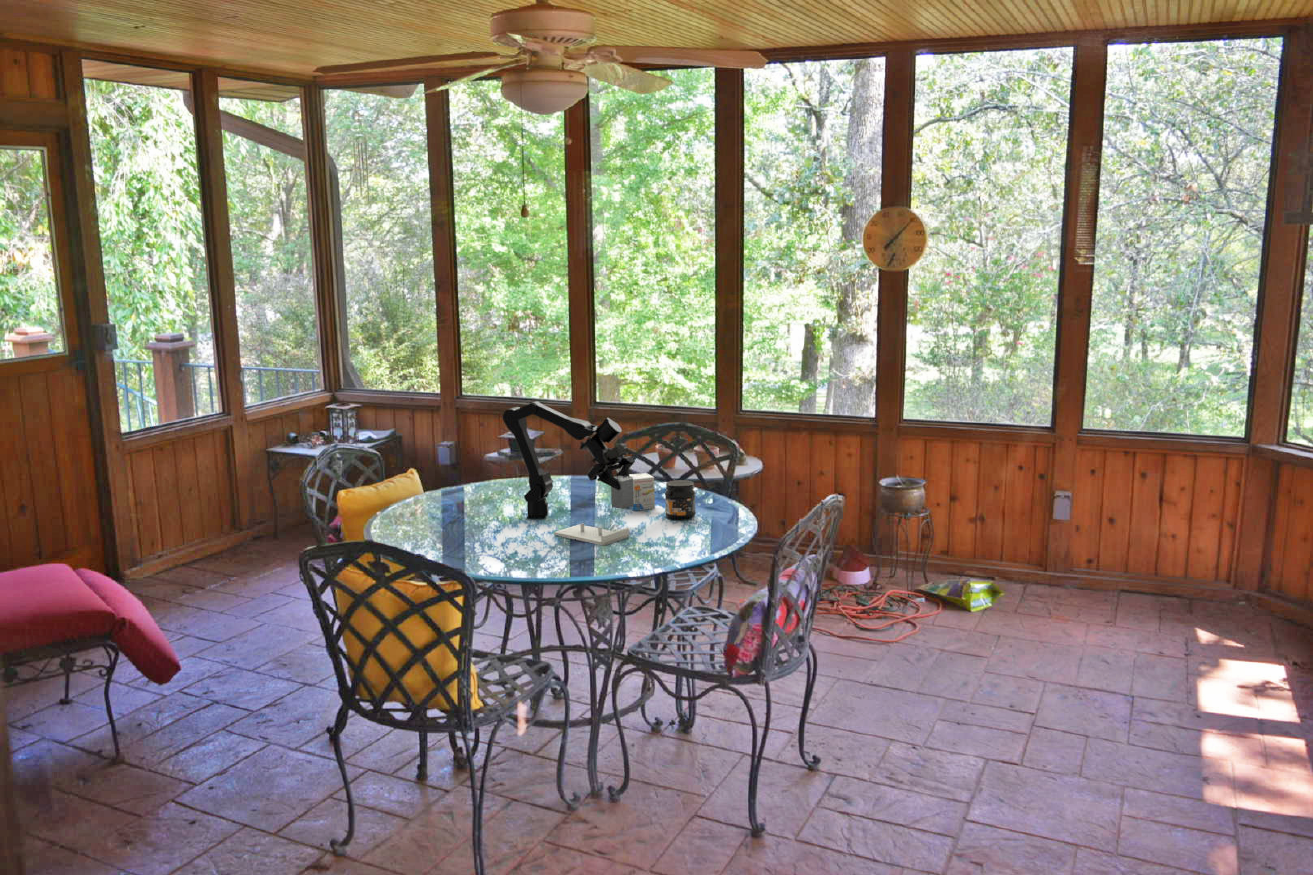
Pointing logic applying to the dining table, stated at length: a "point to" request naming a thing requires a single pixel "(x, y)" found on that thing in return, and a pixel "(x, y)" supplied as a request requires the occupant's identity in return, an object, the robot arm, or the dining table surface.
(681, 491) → the supplement container
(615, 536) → the tray
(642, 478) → the ink box
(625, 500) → the block
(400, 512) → the dining table surface
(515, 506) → the dining table surface
